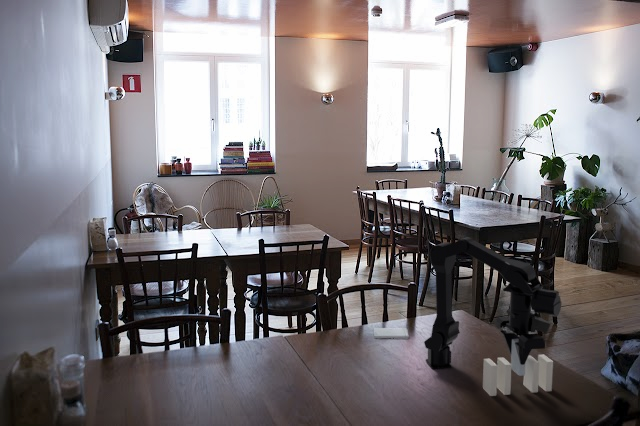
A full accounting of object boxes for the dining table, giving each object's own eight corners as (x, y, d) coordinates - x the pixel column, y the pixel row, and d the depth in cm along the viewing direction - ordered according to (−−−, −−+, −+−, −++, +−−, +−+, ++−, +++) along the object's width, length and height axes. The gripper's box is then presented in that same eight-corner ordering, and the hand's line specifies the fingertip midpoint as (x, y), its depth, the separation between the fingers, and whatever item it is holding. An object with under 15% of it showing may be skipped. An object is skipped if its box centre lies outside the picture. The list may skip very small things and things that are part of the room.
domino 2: (504, 394, 158) (505, 365, 157) (496, 386, 163) (497, 357, 161) (510, 394, 158) (511, 364, 157) (502, 386, 163) (503, 357, 162)
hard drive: (374, 335, 201) (408, 335, 200) (373, 327, 209) (406, 327, 208) (374, 340, 201) (408, 340, 200) (373, 331, 209) (406, 331, 208)
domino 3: (519, 375, 158) (520, 345, 156) (510, 368, 163) (511, 339, 161) (524, 375, 158) (526, 345, 157) (516, 367, 163) (517, 338, 161)
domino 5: (545, 391, 160) (547, 361, 158) (536, 383, 165) (538, 354, 163) (551, 390, 160) (553, 361, 159) (542, 383, 165) (543, 354, 163)
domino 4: (532, 392, 159) (533, 362, 158) (523, 384, 164) (524, 355, 163) (537, 392, 159) (539, 362, 158) (529, 384, 164) (530, 355, 163)
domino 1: (490, 396, 157) (491, 366, 156) (482, 388, 162) (483, 358, 161) (496, 395, 158) (497, 365, 156) (488, 387, 163) (489, 358, 161)
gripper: (565, 317, 149) (562, 372, 152) (530, 296, 168) (527, 346, 170) (526, 320, 148) (524, 375, 150) (495, 298, 166) (493, 348, 168)
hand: (517, 360), depth 160 cm, fingers closed on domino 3, 5 cm apart
